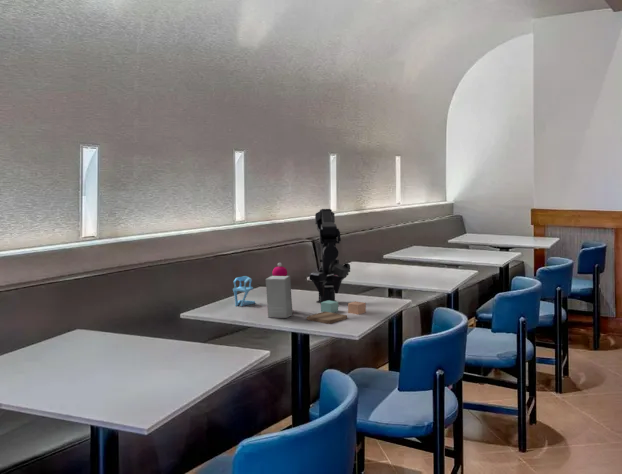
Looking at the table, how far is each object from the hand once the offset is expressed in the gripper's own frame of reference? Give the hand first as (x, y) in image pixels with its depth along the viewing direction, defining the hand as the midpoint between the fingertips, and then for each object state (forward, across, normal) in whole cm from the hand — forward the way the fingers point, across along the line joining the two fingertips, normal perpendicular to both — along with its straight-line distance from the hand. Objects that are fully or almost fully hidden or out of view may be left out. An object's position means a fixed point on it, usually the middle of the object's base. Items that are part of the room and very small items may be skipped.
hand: (329, 295), depth 243 cm
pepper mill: (+7, -12, +16) cm, 21 cm away
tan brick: (+7, +5, -10) cm, 13 cm away
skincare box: (+7, -19, +10) cm, 23 cm away
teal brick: (+7, 0, 0) cm, 7 cm away
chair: (+7, -12, +38) cm, 40 cm away
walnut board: (+7, -11, -8) cm, 15 cm away
